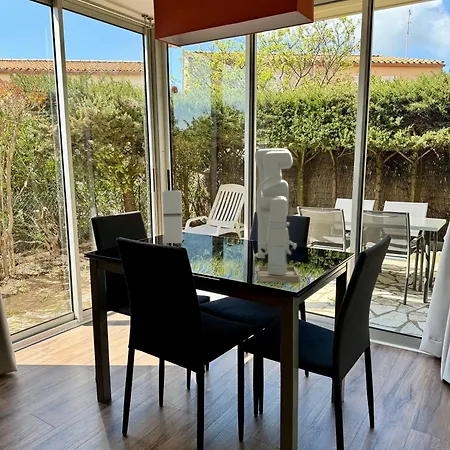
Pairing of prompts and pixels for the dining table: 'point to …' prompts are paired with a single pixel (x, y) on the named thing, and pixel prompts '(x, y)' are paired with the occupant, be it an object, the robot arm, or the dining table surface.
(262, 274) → the tray
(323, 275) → the dining table surface
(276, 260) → the supplement box
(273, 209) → the robot arm
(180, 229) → the white tall box
